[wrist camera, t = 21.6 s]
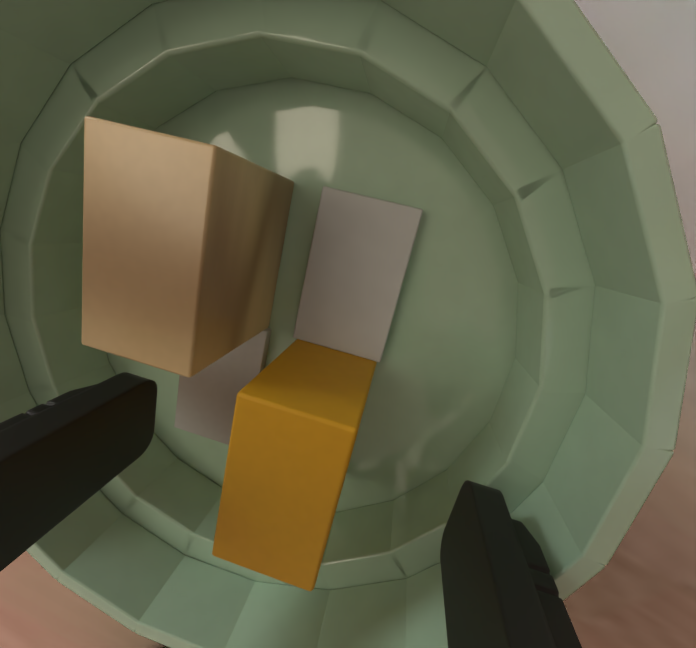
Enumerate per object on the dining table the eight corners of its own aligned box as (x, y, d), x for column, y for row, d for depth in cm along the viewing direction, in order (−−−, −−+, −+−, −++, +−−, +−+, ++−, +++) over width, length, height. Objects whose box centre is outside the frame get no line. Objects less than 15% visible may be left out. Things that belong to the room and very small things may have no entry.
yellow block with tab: (348, 476, 12) (316, 595, 8) (273, 450, 12) (205, 555, 8) (423, 210, 9) (432, 191, 5) (326, 187, 10) (266, 154, 6)
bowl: (77, -14, 10) (-195, -218, 6) (674, 96, 8) (988, -70, 4) (74, 451, 15) (-76, 549, 10) (457, 586, 13) (482, 775, 8)
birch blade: (208, 160, 10) (77, 112, 6) (298, 182, 10) (221, 146, 6) (180, 421, 13) (74, 507, 9) (251, 444, 12) (174, 544, 8)
